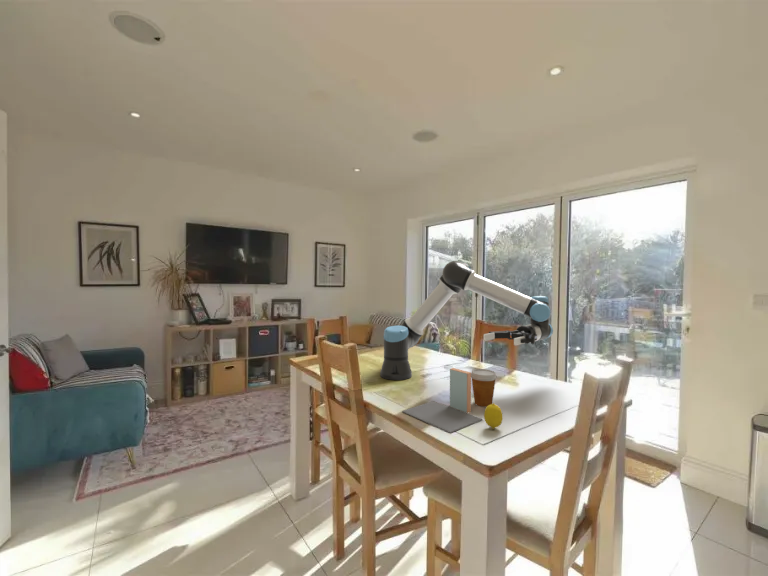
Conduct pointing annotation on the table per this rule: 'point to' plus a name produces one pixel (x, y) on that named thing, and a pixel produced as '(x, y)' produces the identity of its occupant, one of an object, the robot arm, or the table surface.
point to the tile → (460, 390)
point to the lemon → (493, 415)
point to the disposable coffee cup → (483, 386)
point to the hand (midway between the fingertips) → (498, 339)
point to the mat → (442, 416)
